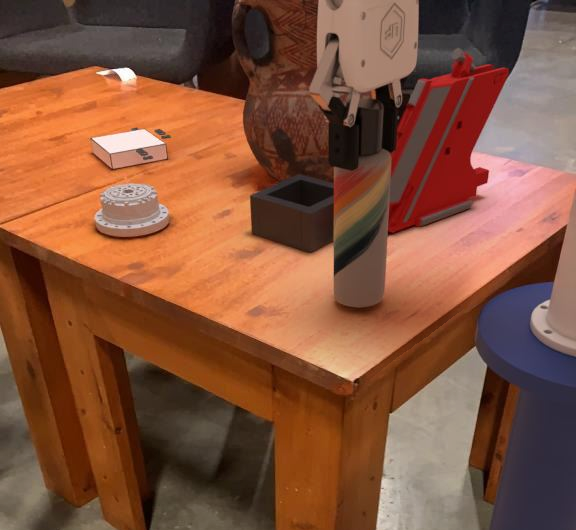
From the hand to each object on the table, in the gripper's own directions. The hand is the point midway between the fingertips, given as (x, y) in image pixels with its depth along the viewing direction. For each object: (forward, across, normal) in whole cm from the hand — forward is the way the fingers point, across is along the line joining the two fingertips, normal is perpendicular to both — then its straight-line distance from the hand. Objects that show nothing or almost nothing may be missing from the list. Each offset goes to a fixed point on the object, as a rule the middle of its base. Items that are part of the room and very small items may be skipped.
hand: (362, 156), depth 76 cm
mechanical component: (+15, 0, +38) cm, 41 cm away
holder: (+16, +12, +18) cm, 27 cm away
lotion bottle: (+15, 0, 0) cm, 15 cm away
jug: (+16, +30, +30) cm, 45 cm away
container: (+15, +20, +60) cm, 65 cm away
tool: (+16, +24, +8) cm, 30 cm away
